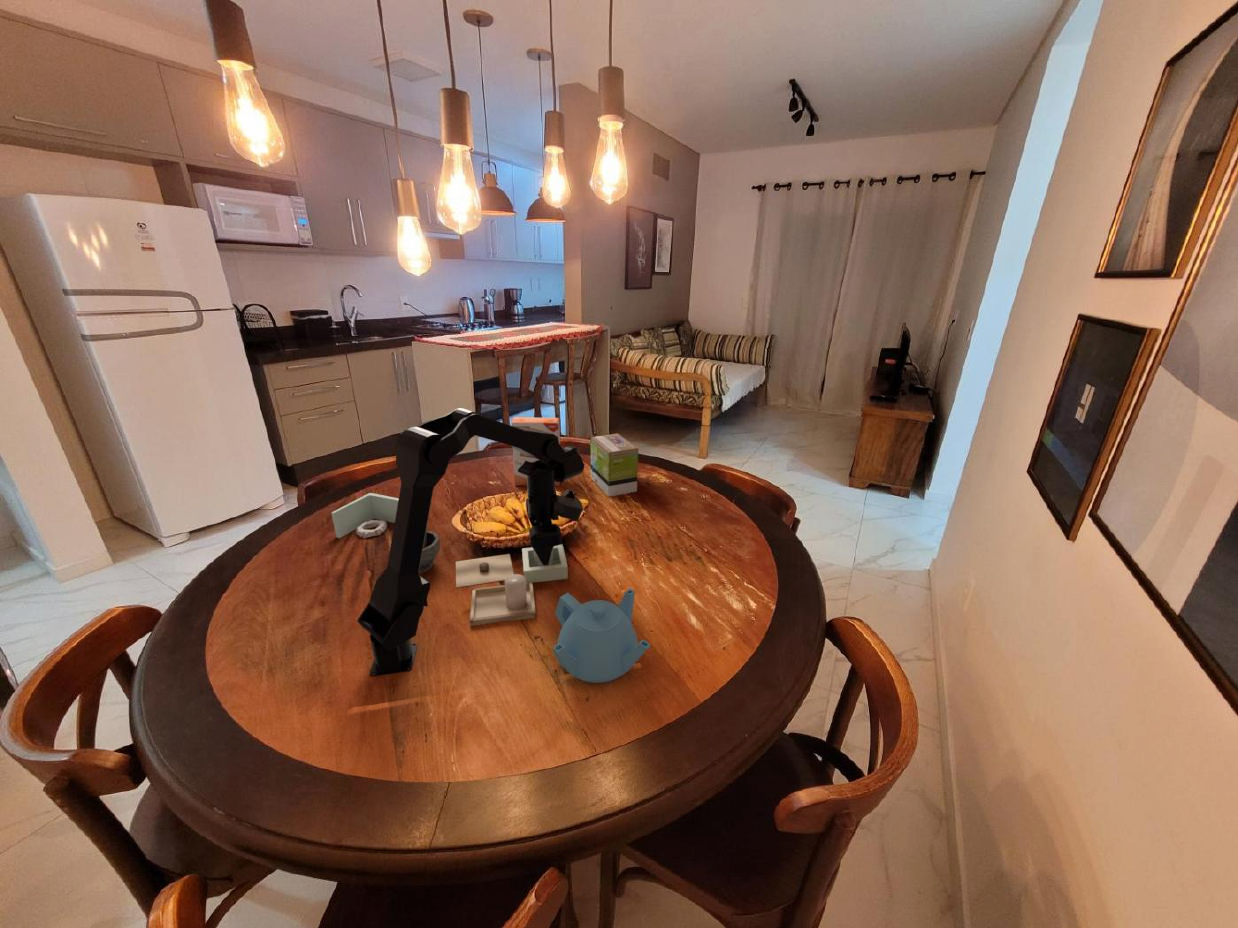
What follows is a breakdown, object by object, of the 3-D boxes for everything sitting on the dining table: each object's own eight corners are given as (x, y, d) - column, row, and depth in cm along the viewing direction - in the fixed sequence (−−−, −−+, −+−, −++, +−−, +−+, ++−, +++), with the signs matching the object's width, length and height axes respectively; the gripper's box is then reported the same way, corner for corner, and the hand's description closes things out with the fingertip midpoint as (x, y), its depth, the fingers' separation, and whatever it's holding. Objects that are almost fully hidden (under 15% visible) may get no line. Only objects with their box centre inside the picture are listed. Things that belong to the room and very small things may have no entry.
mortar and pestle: (432, 581, 102) (425, 532, 98) (388, 580, 102) (379, 531, 98) (450, 553, 113) (444, 507, 108) (410, 552, 113) (402, 506, 108)
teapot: (636, 625, 91) (638, 577, 87) (649, 688, 77) (652, 634, 73) (555, 629, 89) (553, 581, 86) (553, 694, 76) (551, 640, 72)
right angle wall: (337, 539, 118) (331, 512, 115) (374, 518, 129) (369, 492, 126) (376, 548, 115) (370, 521, 112) (411, 525, 125) (407, 500, 123)
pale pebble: (527, 608, 94) (526, 584, 92) (506, 610, 93) (504, 587, 91) (526, 595, 98) (525, 573, 96) (506, 598, 97) (504, 575, 95)
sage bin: (567, 580, 104) (567, 566, 102) (524, 585, 102) (523, 571, 100) (562, 557, 112) (562, 544, 111) (522, 561, 110) (522, 548, 109)
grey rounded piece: (553, 572, 105) (552, 549, 103) (535, 573, 105) (533, 551, 103) (552, 562, 109) (552, 541, 107) (535, 564, 108) (533, 542, 106)
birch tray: (535, 619, 92) (535, 612, 91) (470, 627, 89) (469, 620, 88) (532, 588, 101) (532, 581, 100) (473, 595, 98) (472, 588, 98)
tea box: (589, 479, 155) (589, 435, 150) (617, 474, 159) (618, 432, 154) (608, 497, 143) (608, 451, 137) (638, 492, 147) (639, 446, 141)
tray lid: (514, 580, 103) (514, 573, 102) (456, 589, 100) (455, 582, 99) (509, 556, 112) (509, 549, 111) (455, 563, 108) (455, 557, 108)
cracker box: (514, 486, 148) (510, 421, 141) (517, 479, 154) (513, 416, 146) (559, 486, 149) (558, 422, 141) (561, 479, 155) (559, 416, 147)
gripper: (587, 505, 93) (587, 573, 98) (573, 469, 110) (574, 529, 115) (528, 510, 90) (532, 579, 96) (524, 472, 107) (527, 533, 113)
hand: (543, 553), depth 105 cm, fingers open, 9 cm apart
